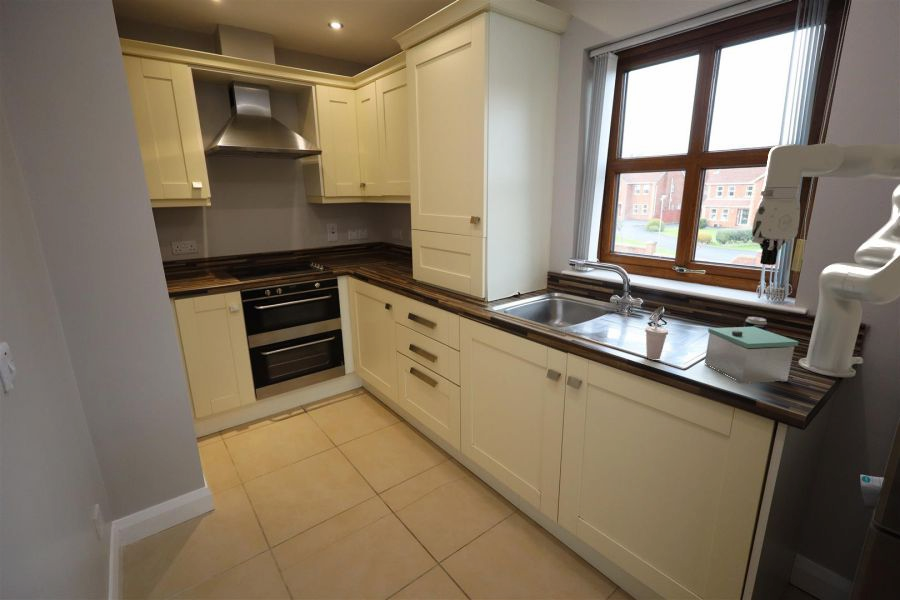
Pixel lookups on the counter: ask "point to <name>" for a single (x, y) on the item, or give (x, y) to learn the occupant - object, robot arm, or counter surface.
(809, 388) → the counter surface
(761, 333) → the lid
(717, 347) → the grey open box
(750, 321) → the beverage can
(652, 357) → the smoothie
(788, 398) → the counter surface
